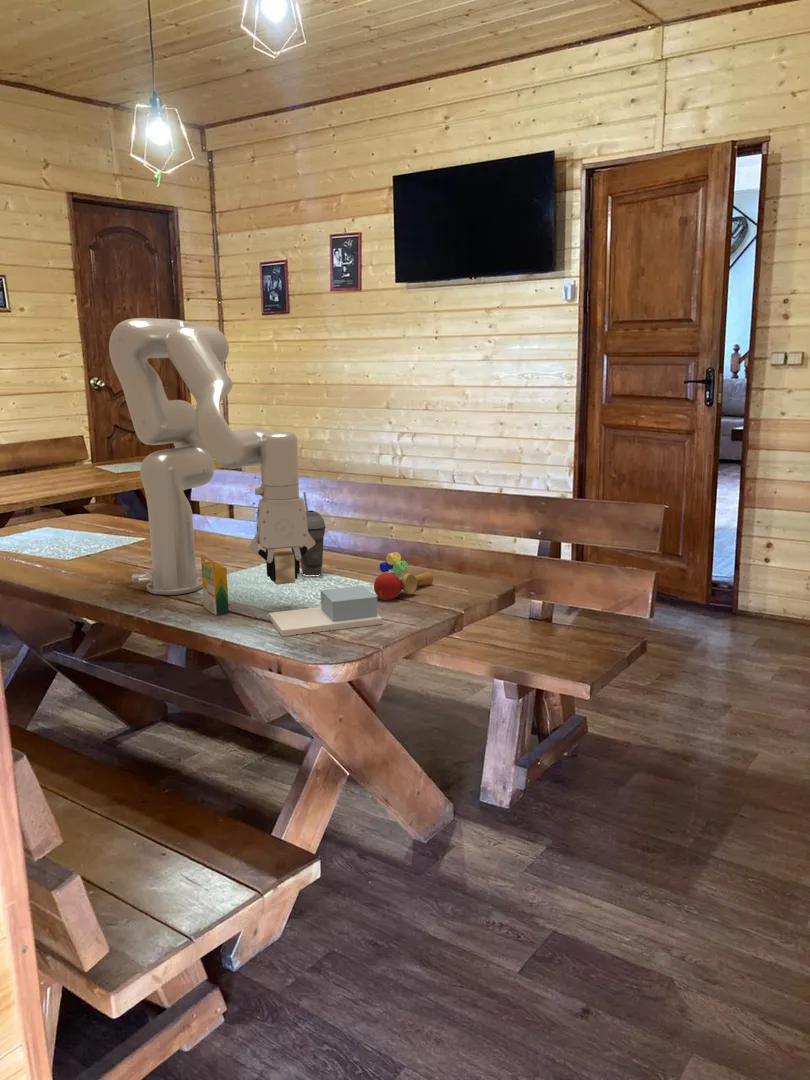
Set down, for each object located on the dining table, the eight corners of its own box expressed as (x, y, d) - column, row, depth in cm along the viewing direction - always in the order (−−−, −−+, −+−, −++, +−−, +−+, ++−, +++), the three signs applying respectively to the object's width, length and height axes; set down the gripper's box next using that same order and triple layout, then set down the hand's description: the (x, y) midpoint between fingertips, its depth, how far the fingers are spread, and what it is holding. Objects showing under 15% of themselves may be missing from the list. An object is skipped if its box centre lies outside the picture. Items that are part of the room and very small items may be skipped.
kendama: (411, 587, 204) (362, 594, 189) (417, 561, 202) (368, 566, 188) (437, 598, 199) (389, 606, 185) (443, 572, 198) (396, 578, 184)
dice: (378, 576, 208) (378, 550, 207) (387, 574, 210) (386, 548, 208) (400, 582, 202) (400, 555, 201) (409, 580, 204) (409, 553, 203)
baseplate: (282, 636, 165) (281, 610, 164) (269, 618, 176) (267, 593, 175) (382, 623, 172) (381, 598, 171) (363, 607, 183) (362, 583, 182)
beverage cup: (322, 578, 206) (319, 495, 202) (292, 577, 208) (289, 494, 203) (330, 571, 213) (328, 490, 209) (302, 570, 214) (299, 489, 210)
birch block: (276, 584, 181) (275, 556, 179) (272, 579, 184) (271, 552, 183) (295, 582, 182) (294, 554, 181) (290, 578, 186) (290, 550, 184)
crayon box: (229, 613, 180) (226, 558, 178) (215, 615, 178) (212, 560, 176) (216, 605, 186) (213, 552, 184) (203, 607, 184) (199, 553, 182)
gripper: (243, 498, 173) (247, 587, 177) (324, 492, 178) (326, 579, 182) (236, 492, 180) (240, 578, 184) (315, 487, 185) (317, 570, 189)
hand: (283, 577), depth 183 cm, fingers closed on birch block, 4 cm apart
